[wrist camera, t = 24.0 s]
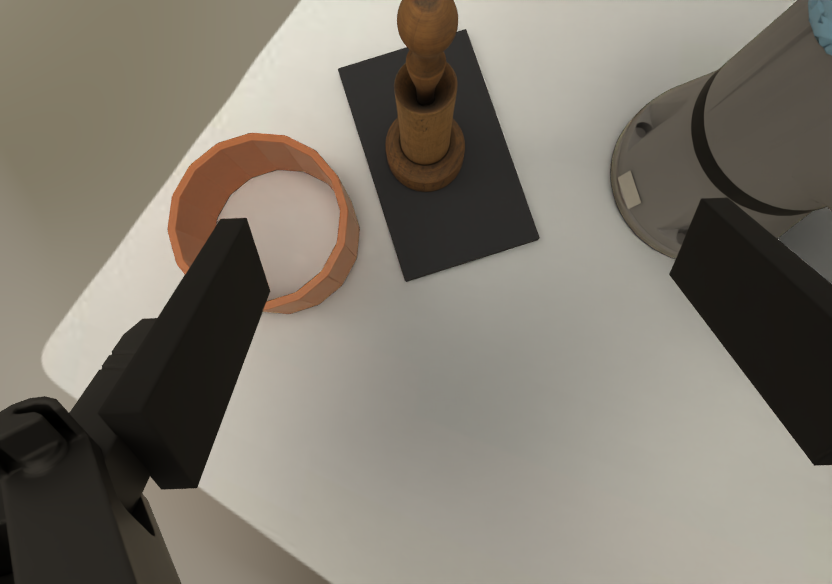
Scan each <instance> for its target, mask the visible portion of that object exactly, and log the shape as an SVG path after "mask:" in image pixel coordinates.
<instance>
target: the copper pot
mask: <svg viewBox="0 0 832 584" xmlns="http://www.w3.org/2000/svg"><path fill="white" fill-rule="evenodd" d="M274 170H290V171H303V172H306V173H308V174H310V175H312V176H314V177H316V178H318V179H320V180H322V181H324V182H326V183H328V184H329V186H330V187H331V188H332V189H333V190H334V192H335V195H336V198H337V202H338V205H339V208H340V219H339V228H338V238H337V243H336V245H335V247H334V249H333V251H332V253H331V255H330V256H329V258H328V260H327V262H326V264H325V266H324V268H323V269H322V271H321V272H320V273H319V274H318V275H316V276H315V277H314V278H313V279H311V280H310V281H309V282H308V283H307V284H305V285H304V286H303V287H302V288H301V289H299V290H298V291H297V292H295V293H292V294H289V295H286V296H283V297H279V298H276V299H273V300H270V301H267V302H266V304H265V306H264V309H263V312H271V313H283V314H291V313H294V312H298V311H301V310H304V309H307V308H310V307H313V306H316V305H318V304H320V303H322V302H323V301H324V300H325V299H326V298H328V297H329V296H330V295H331V294H332V293H334V292H335V291H336V290H337V289H338V288H340V287H341V286H342V285H343V283H344V281H345V279H346V278H347V276H348V274H349V272H350V270H351V268H352V266H353V264H354V263H355V261H356V258H357V252H358V241H359V231H360V229H359V224H358V221H357V218H356V215H355V212H354V208H353V205H352V202H351V200H350V198H349V196H348V194H347V192H346V190H345V189H344V187H343V185H342V183H341V181H340V179H339V178H338V176H337V175H336V173H335V172H334V171H333V170H332V169H331V168H330V166H329V165H328V164H327V163H326V162H325V161H324V159H323V158H322V157H321V156H320V155H319V154H318V152H317V151H315V150H314V149H312V148H310V147H308V146H306V145H304V144H302V143H300V142H298V141H296V140H294V139H292V138H290V137H288V136H285V135H273V134H260V133H248V134H245V135H242V136H239V137H236V138H232V139H229V140H226V141H223V142H220V143H218V144H216V145H215V146H213V147H212V148H211V149H210V150H208V151H207V152H206V153H204V154H203V155H202V156H201V157H199V158H198V159H197V160H196V161H194V162H193V163H192V164H191V166H189V167H188V169H187V171H186V173H185V174H184V176H183V178H182V179H181V181H180V183H179V185H178V186H177V188H176V190H175V192H174V193H173V196H172V200H171V208H170V215H169V222H168V234H169V238H170V241H171V245H172V249H173V253H174V256H175V260H176V263H177V265H178V266H179V268H180V269H181V270H182V271H183V273H184V274H186V272H187V271H188V269H189V268H190V266H191V265H192V263H193V261H194V260H195V258H196V257H197V255H198V254H199V252H200V250H201V249H202V247H203V246H204V244H205V243H206V241H207V239H208V238H209V236H210V235H211V233H212V231H213V230H214V228H215V227H216V221H217V217H218V215H219V214H220V212H221V210H222V208H223V207H224V205H225V203H226V201H227V199H228V198H229V196H230V194H232V193H233V192H234V191H235V190H237V189H238V188H239V187H240V186H242V185H243V184H244V183H245V182H247V181H248V180H249V179H250V178H252V177H255V176H258V175H262V174H265V173H268V172H271V171H274Z"/></svg>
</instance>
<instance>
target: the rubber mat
mask: <svg viewBox="0 0 832 584" xmlns="http://www.w3.org/2000/svg"><path fill="white" fill-rule="evenodd" d="M408 52H409V49H408V48H407V47H406V48H403V49H400V50H397V51H394V52H390V53H387V54H384V55H381V56H377V57H374V58H371V59H368V60H364V61H361V62H358V63H355V64H352V65H348V66H345V67H342V68H339V69H338V71H339V74H340V77H341V80H342V83H343V86H344V90H345V93H346V96H347V99H348V102H349V105H350V108H351V112H352V115H353V118H354V121H355V124H356V127H357V130H358V134H359V137H360V140H361V143H362V146H363V149H364V152H365V156H366V159H367V162H368V165H369V168H370V171H371V174H372V178H373V181H374V184H375V187H376V190H377V193H378V196H379V200H380V203H381V206H382V209H383V212H384V215H385V218H386V222H387V225H388V228H389V231H390V234H391V237H392V240H393V244H394V247H395V250H396V253H397V256H398V259H399V262H400V265H401V269H402V272H403V275H404V278H405V281H406V282H407V281H410V280H414V279H417V278H420V277H423V276H426V275H429V274H432V273H436V272H439V271H442V270H445V269H448V268H451V267H454V266H458V265H461V264H464V263H467V262H470V261H473V260H476V259H480V258H483V257H486V256H489V255H492V254H495V253H498V252H502V251H505V250H508V249H511V248H514V247H517V246H520V245H524V244H527V243H530V242H533V241H536V240H538V239H539V235H538V232H537V230H536V227H535V224H534V221H533V218H532V215H531V212H530V210H529V207H528V204H527V201H526V198H525V195H524V193H523V190H522V187H521V184H520V181H519V178H518V176H517V173H516V170H515V167H514V164H513V161H512V158H511V156H510V153H509V150H508V147H507V144H506V141H505V139H504V136H503V133H502V130H501V127H500V124H499V121H498V119H497V116H496V113H495V110H494V107H493V104H492V102H491V99H490V96H489V93H488V90H487V87H486V85H485V82H484V79H483V76H482V73H481V70H480V67H479V65H478V62H477V59H476V56H475V53H474V50H473V48H472V45H471V42H470V39H469V36H468V33H467V30H466V29H465V30H461V31H458V32H456V35H455V37H454V39H453V41H452V43H451V44H450V45H449V47H448V48H447V49H446V50H444V51H443V52H444V54H445V57H446V62H447V63H448V64H449V65H450V66H451V67H452V68H453V70H454V72H455V74H456V77H457V93H456V100H455V105H454V112H453V119H454V120H455V121H456V122H457V124H458V125H459V127H460V128H461V130H462V133H463V136H464V141H465V152H464V158H463V163H462V167H461V169H460V171H459V173H458V175H457V176H456V178H455V179H454V180H453V181H452V182H451V183H449V184H448V185H447V186H445V187H443V188H441V189H439V190H435V191H430V192H421V191H416V190H413V189H410V188H408V187H406V186H405V185H403V184H402V183H401V182H400V181H399V180H398V179H397V178H396V177H395V176H394V174H393V173H392V171H391V169H390V167H389V164H388V160H387V154H386V137H387V133H388V131H389V129H390V127H391V125H392V124H393V122H394V121H395V120H396V119H397V118H398V112H397V105H396V98H395V91H394V82H395V78H396V75H397V73H398V71H399V70H400V68H401V67H402V66H403V65H404V64H405V63H406V57H407V54H408Z"/></svg>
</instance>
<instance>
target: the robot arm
mask: <svg viewBox="0 0 832 584" xmlns="http://www.w3.org/2000/svg"><path fill="white" fill-rule="evenodd" d="M611 184H612V190H613V194H614V198H615V201H616V204H617V206H618V208H619V211H620V212H621V214H622V216H623V218H624V219H625V221H626V222H627V224H628V225H629V227H630V228H631V229H632V230H633V231H634V233H635V234H636V235H637V236H638V237H639V238H640V239H642V240H643V241H644V242H645V243H647V244H648V245H649V246H651V247H652V248H654V249H655V250H657V251H659V252H661V253H663V254H665V255H667V256H669V257H672V258H675V259H676V260H675V262H674V265H673V267H672V270H671V272H670V274H669V275H670V276H671V277H672V279H673V280H674V281H675V283H676V284H677V285H678V287H679V288H680V289H681V291H682V292H683V293H684V295H685V296H686V297H687V299H688V300H689V301H690V302H691V304H692V305H693V306H694V308H695V309H696V310H697V312H698V313H699V314H700V316H701V317H702V318H703V320H704V321H705V322H706V324H707V325H708V326H709V327H710V329H711V330H712V331H713V333H714V334H715V335H716V337H717V338H718V339H719V341H720V342H721V343H722V345H723V346H724V347H725V349H726V350H727V351H728V353H729V354H730V355H731V356H732V358H733V359H734V360H735V362H736V363H737V364H738V366H739V367H740V368H741V370H742V371H743V372H744V374H745V375H746V376H747V378H748V379H749V380H750V381H751V383H752V384H753V385H754V387H755V388H756V389H757V391H758V392H759V393H760V395H761V396H762V397H763V399H764V400H765V401H766V403H767V404H768V405H769V407H770V408H771V409H772V410H773V412H774V413H775V414H776V416H777V417H778V418H779V420H780V421H781V422H782V424H783V425H784V426H785V428H786V429H787V430H788V432H789V433H790V434H791V435H792V437H793V438H794V439H795V441H796V442H797V443H798V445H799V446H800V447H801V449H802V450H803V451H804V453H805V454H806V455H807V457H808V458H809V459H810V460H811V462H812V463H813V464H814V466H815V465H832V284H831V283H829V282H828V281H827V280H826V279H825V278H823V277H822V276H821V275H820V274H819V273H817V272H816V271H815V270H814V269H813V268H811V267H810V266H809V265H808V264H807V263H805V262H804V261H803V260H802V259H801V258H800V257H798V256H797V255H796V254H795V253H794V252H792V251H791V250H790V249H789V248H788V247H786V246H785V245H784V244H783V243H782V242H780V241H779V240H778V239H777V238H779V237H780V236H781V235H783V234H784V233H785V232H786V231H788V230H789V229H790V228H792V227H793V226H794V225H795V224H797V223H798V222H799V221H801V220H802V219H803V218H804V217H806V216H807V215H808V214H810V213H811V212H812V211H815V210H818V209H822V208H825V207H828V208H829V209H830V210H831V211H832V0H797V1H796V2H795V3H794V4H793V5H792V6H791V7H789V8H788V9H787V10H786V11H785V12H784V13H782V14H781V15H780V16H779V17H778V18H777V19H776V20H774V21H773V22H772V23H771V24H770V25H769V26H768V27H766V28H765V29H764V30H763V31H762V32H761V33H760V34H758V35H757V36H756V37H755V38H754V39H753V40H751V41H750V42H749V43H748V44H747V45H746V46H745V47H743V48H742V49H741V50H740V51H739V52H738V53H737V54H735V55H734V56H733V57H732V58H731V59H730V60H729V61H727V63H725V64H724V65H723V66H722V67H721V68H720V69H719V70H717V71H715V72H712V73H709V74H707V75H704V76H702V77H699V78H697V79H694V80H692V81H689V82H687V83H684V84H682V85H679V86H676V87H674V88H672V89H670V90H668V91H666V92H664V93H663V94H661V95H660V96H658V97H656V98H655V99H653V100H652V101H651V102H649V103H648V104H647V105H646V106H645V107H643V108H642V109H641V110H640V111H639V112H638V113H637V114H636V115H635V116H634V117H633V119H632V120H631V121H630V122H629V123H628V124H627V126H626V127H625V129H624V130H623V132H622V133H621V135H620V137H619V139H618V141H617V144H616V146H615V149H614V153H613V157H612V163H611ZM269 293H270V289H269V286H268V283H267V280H266V277H265V273H264V270H263V267H262V264H261V261H260V258H259V255H258V252H257V249H256V246H255V243H254V239H253V236H252V233H251V230H250V227H249V224H248V221H247V218H235V219H220V220H219V222H218V224H217V225H216V227H215V228H214V230H213V231H212V233H211V235H210V236H209V238H208V239H207V241H206V243H205V244H204V246H203V247H202V249H201V250H200V252H199V254H198V255H197V257H196V258H195V260H194V261H193V263H192V265H191V266H190V268H189V269H188V271H187V272H186V274H185V276H184V277H183V279H182V280H181V282H180V284H179V285H178V287H177V288H176V290H175V291H174V293H173V295H172V296H171V298H170V299H169V301H168V302H167V304H166V306H165V307H164V309H163V310H162V312H161V313H160V315H159V317H158V318H151V319H142V320H141V321H139V322H138V323H137V324H136V325H135V326H133V327H132V328H131V329H130V330H128V331H127V332H126V333H125V334H124V335H123V336H122V338H121V339H120V341H119V342H118V343H117V345H116V346H115V348H114V349H113V351H112V355H109V356H108V358H107V359H106V361H105V362H104V364H103V365H102V370H99V371H98V372H97V374H96V375H95V377H94V378H93V380H92V381H91V382H90V384H89V385H88V387H87V388H86V390H85V391H84V393H83V394H82V395H81V397H80V398H79V400H78V401H77V403H76V404H75V406H74V407H73V408H72V410H71V411H70V413H68V412H67V410H66V409H65V408H64V407H63V406H62V405H61V404H60V403H59V402H58V400H57V399H53V398H49V397H37V398H30V399H27V400H24V401H21V402H18V403H16V404H13V405H11V406H9V407H8V408H6V409H4V410H2V411H1V412H0V584H181V582H180V579H179V577H178V574H177V572H176V569H175V567H174V564H173V562H172V559H171V557H170V554H169V552H168V549H167V547H166V544H165V542H164V539H163V537H162V534H161V532H160V529H159V527H158V524H157V522H156V519H155V517H154V514H153V512H152V509H151V507H150V505H149V502H148V500H147V499H146V497H145V496H144V495H143V494H142V492H143V490H144V488H145V486H146V483H147V481H148V479H149V477H150V476H151V478H152V479H153V480H154V481H155V482H156V484H157V485H158V486H159V487H160V488H161V489H186V488H197V487H198V484H199V481H200V479H201V476H202V473H203V471H204V468H205V465H206V462H207V460H208V457H209V454H210V452H211V449H212V446H213V444H214V441H215V438H216V436H217V433H218V430H219V428H220V425H221V422H222V419H223V417H224V414H225V411H226V409H227V406H228V403H229V401H230V398H231V395H232V393H233V390H234V387H235V384H236V382H237V379H238V376H239V374H240V371H241V368H242V366H243V363H244V360H245V358H246V355H247V352H248V350H249V347H250V344H251V341H252V339H253V336H254V333H255V331H256V328H257V325H258V323H259V320H260V317H261V315H262V312H263V309H264V306H265V304H266V301H267V298H268V296H269Z"/></svg>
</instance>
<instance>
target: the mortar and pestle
mask: <svg viewBox="0 0 832 584" xmlns="http://www.w3.org/2000/svg"><path fill="white" fill-rule="evenodd" d="M397 26H398V31H399V35H400V37H401V39H402V41H403V43H404V44H405V45H406V46H407V48H408V49H409V52H408V54H407V57H406V63H405V64H404V65H403V66H402V67H401V68H400V70H399V71H398V73H397V75H396V78H395V82H394V91H395V98H396V105H397V112H398V118H397V119H396V120H395V121H394V122H393V124H392V125H391V127H390V129H389V131H388V133H387V137H386V154H387V160H388V164H389V167H390V169H391V171H392V173H393V174H394V176H395V177H396V178H397V179H398V180H399V181H400V182H401V183H402V184H403V185H405V186H406V187H408V188H410V189H413V190H416V191H421V192H430V191H435V190H439V189H441V188H443V187H445V186H447V185H448V184H449V183H451V182H452V181H453V180H454V179H455V178H456V176H457V175H458V173H459V171H460V169H461V167H462V163H463V158H464V152H465V141H464V136H463V133H462V130H461V128H460V127H459V125H458V124H457V122H456V121H455V120H454V119H453V112H454V105H455V100H456V93H457V77H456V74H455V72H454V70H453V68H452V67H451V66H450V65H449V64H448V63H447V62H446V57H445V54H444V52H443V51H444V50H446V49H447V48H448V47H449V45H450V44H451V43H452V41H453V39H454V37H455V35H456V32H457V27H458V13H457V8H456V5H455V3H454V1H453V0H402V1H401V3H400V6H399V9H398V14H397Z"/></svg>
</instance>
